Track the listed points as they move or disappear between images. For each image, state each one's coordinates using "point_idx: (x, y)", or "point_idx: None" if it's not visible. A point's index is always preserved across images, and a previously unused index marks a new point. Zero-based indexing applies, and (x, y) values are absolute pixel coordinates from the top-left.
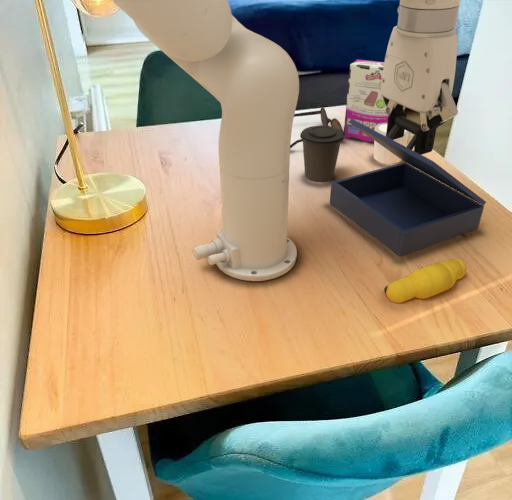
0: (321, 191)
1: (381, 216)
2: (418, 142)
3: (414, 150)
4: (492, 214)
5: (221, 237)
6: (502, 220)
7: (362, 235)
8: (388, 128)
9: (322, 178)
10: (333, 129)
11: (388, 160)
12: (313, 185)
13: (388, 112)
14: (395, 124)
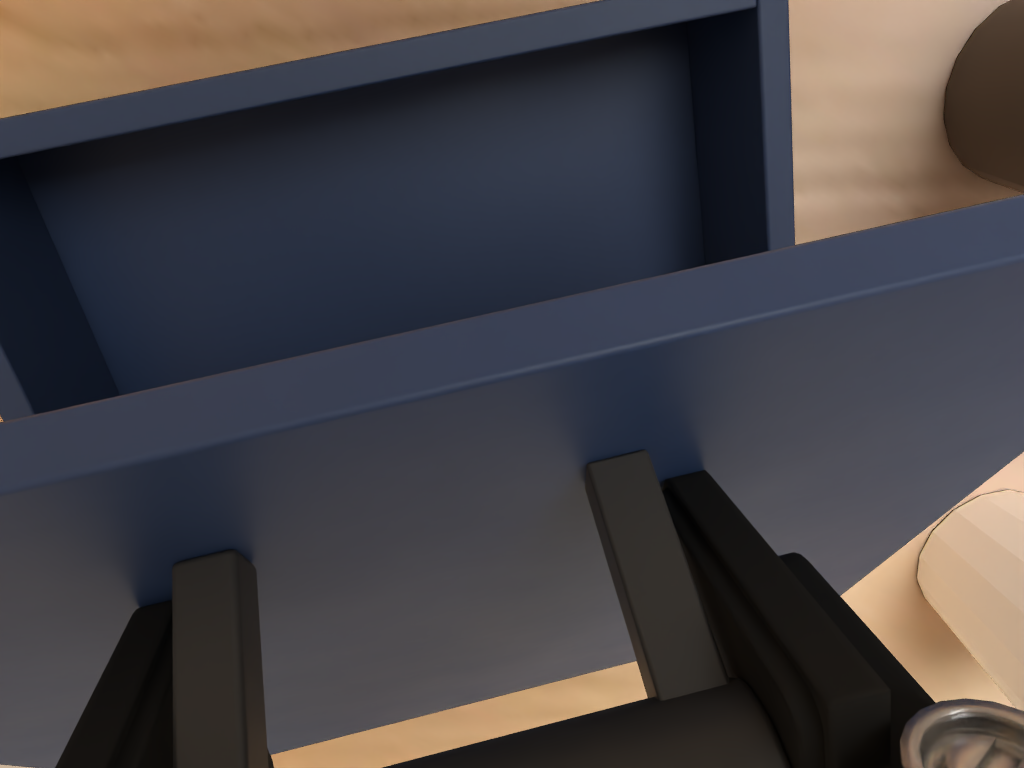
0: (887, 29)
1: (148, 100)
2: (71, 742)
3: (167, 625)
4: (346, 752)
5: None
6: (287, 765)
7: (308, 39)
8: (740, 560)
9: (984, 67)
10: None
11: (957, 548)
12: (977, 10)
13: (968, 743)
14: (707, 683)
